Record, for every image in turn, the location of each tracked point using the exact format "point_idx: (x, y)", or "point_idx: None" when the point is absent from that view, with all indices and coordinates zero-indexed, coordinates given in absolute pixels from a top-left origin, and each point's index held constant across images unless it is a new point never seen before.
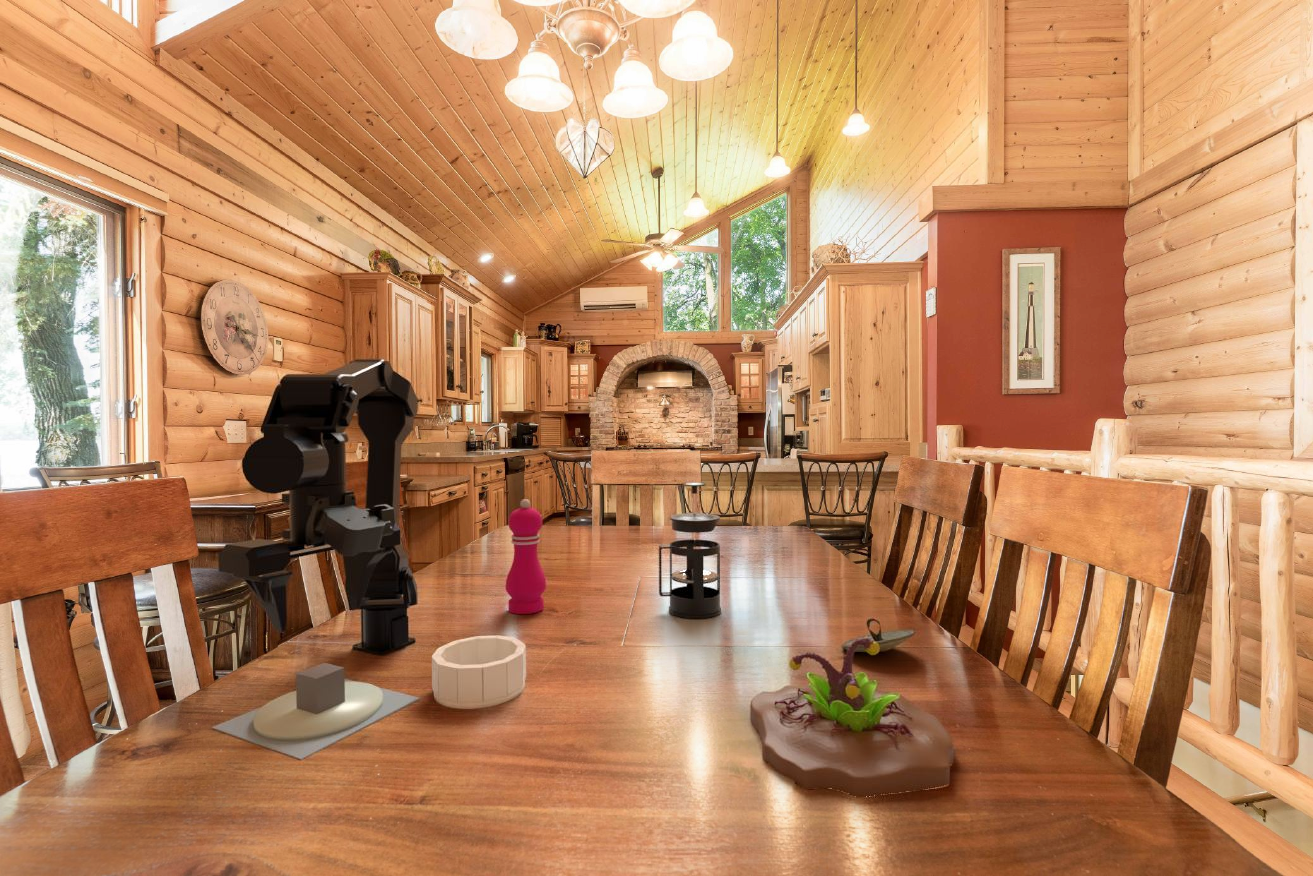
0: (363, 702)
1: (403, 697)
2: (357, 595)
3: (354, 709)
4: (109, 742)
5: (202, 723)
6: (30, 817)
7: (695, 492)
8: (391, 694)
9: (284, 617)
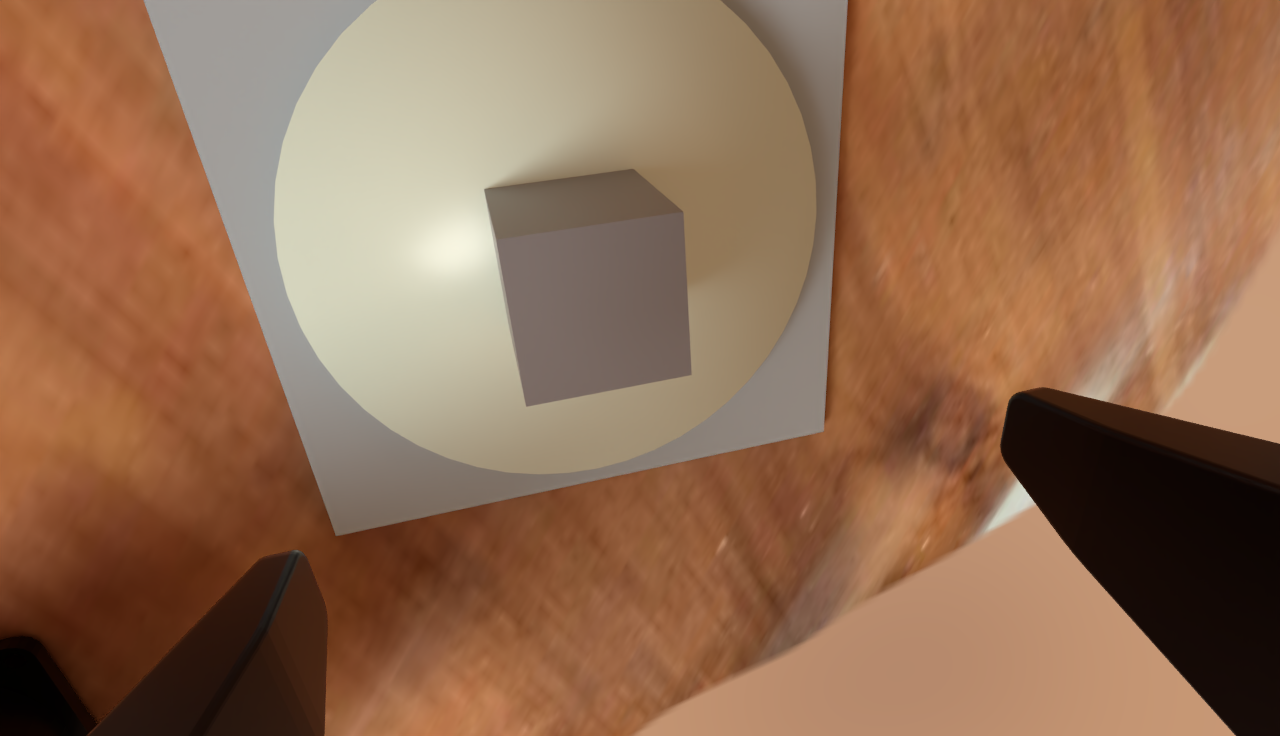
0: (428, 93)
1: (194, 16)
2: (262, 665)
3: (503, 52)
4: (951, 551)
5: (798, 499)
6: (1220, 292)
7: None
8: (229, 124)
9: (1148, 432)
